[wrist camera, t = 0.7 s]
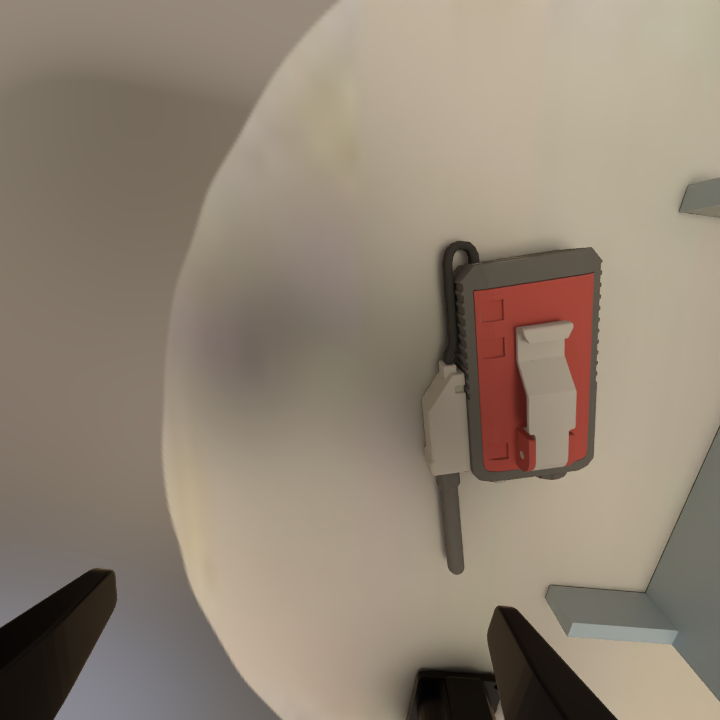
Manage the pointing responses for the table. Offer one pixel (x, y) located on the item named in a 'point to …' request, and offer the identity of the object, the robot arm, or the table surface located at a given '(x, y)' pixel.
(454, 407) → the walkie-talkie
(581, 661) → the table surface
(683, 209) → the mounting bracket
